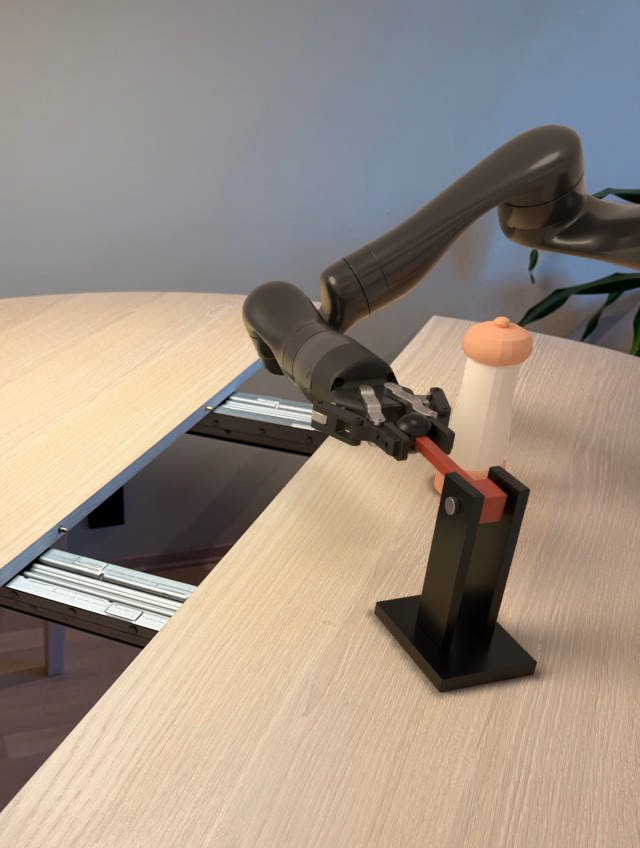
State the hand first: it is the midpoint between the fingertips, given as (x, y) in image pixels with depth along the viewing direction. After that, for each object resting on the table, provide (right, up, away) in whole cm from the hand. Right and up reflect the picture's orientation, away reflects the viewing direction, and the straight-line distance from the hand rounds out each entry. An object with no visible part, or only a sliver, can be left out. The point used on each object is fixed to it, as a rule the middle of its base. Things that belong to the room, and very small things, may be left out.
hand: (426, 447), depth 85 cm
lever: (+1, -3, -1) cm, 4 cm away
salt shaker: (+11, 0, +25) cm, 28 cm away
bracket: (+3, -17, +1) cm, 17 cm away
